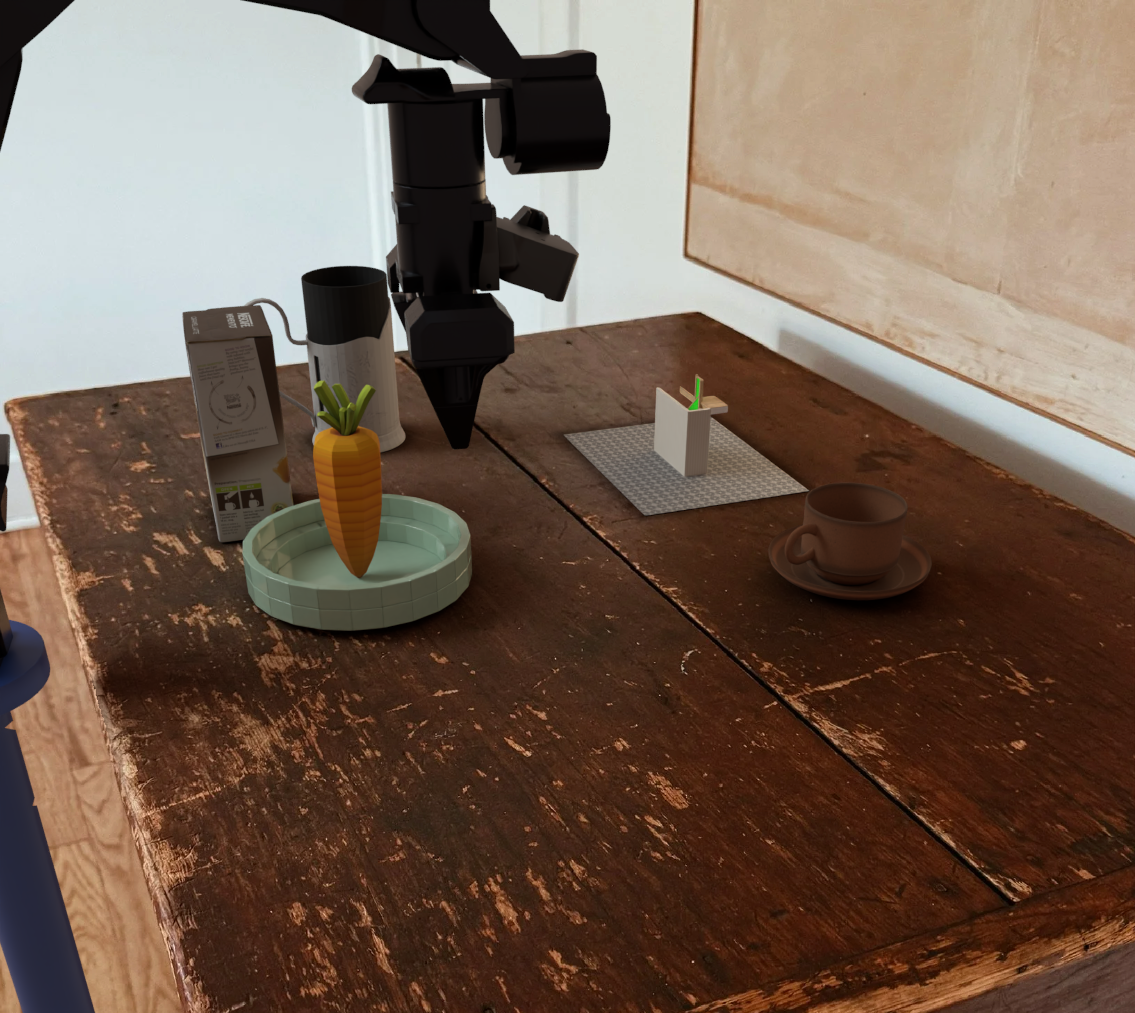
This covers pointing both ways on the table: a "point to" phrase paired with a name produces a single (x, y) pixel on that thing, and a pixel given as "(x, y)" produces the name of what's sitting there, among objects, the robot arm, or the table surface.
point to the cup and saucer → (851, 545)
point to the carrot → (349, 477)
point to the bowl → (385, 592)
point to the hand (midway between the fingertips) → (451, 424)
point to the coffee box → (238, 416)
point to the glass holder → (350, 344)
